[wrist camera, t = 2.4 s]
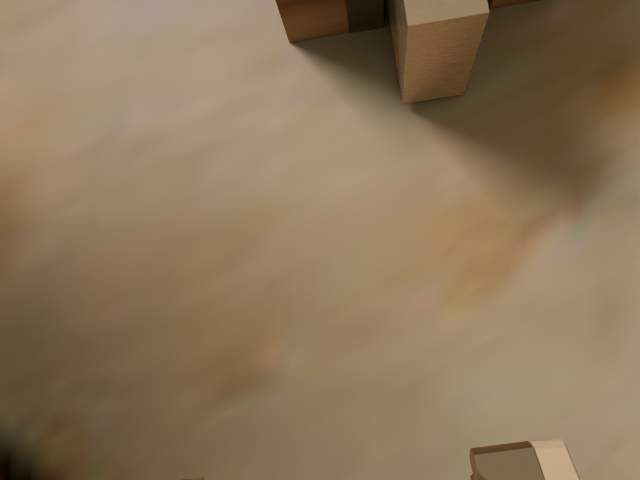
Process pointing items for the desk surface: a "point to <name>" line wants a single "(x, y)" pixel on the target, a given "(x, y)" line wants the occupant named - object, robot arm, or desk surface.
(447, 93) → the elongated beige block
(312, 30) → the housing
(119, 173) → the desk surface
